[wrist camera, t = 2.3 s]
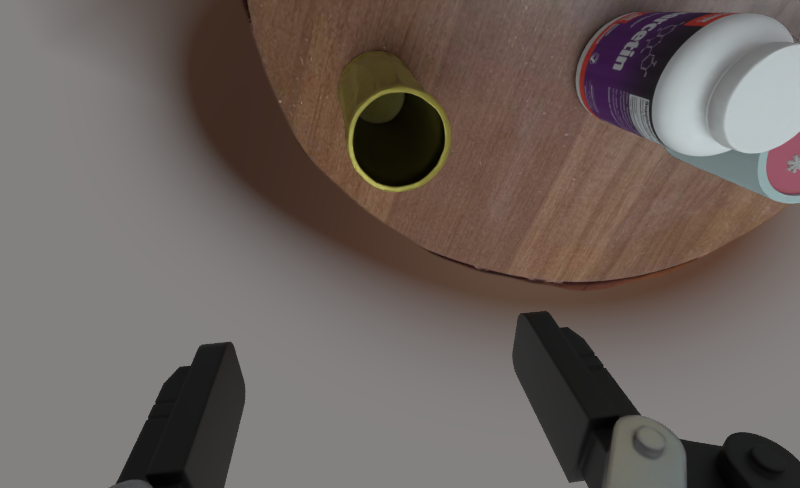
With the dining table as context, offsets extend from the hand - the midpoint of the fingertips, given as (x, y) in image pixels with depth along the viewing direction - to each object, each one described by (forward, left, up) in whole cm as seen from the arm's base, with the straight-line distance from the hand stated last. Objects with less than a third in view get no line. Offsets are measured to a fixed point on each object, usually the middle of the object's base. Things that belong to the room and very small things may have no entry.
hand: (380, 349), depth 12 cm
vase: (0, +3, -26) cm, 26 cm away
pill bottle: (+15, +16, -26) cm, 34 cm away
